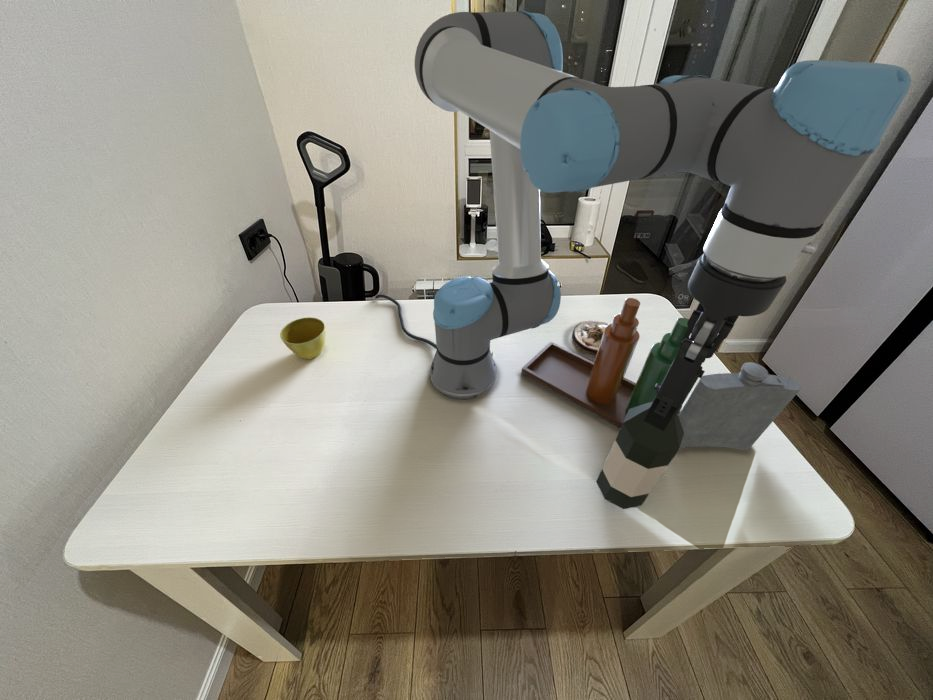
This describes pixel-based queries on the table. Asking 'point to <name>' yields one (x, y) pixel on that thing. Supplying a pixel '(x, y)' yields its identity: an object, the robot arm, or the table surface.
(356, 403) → the table surface
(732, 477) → the table surface
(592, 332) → the bowl of food
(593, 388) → the amber bottle
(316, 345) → the flower pot
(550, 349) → the tray
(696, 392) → the hip flask
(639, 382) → the green bottle
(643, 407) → the wine bottle
